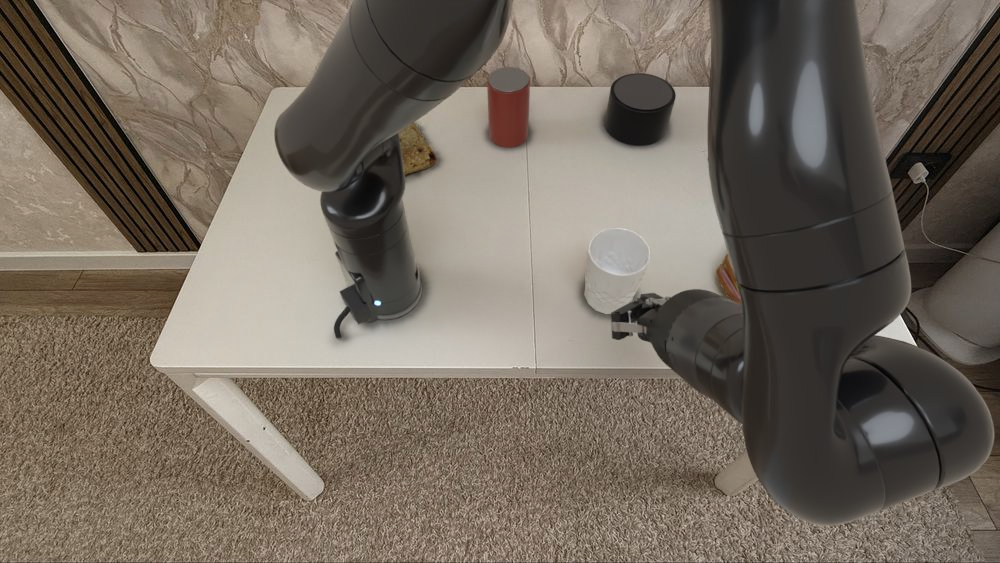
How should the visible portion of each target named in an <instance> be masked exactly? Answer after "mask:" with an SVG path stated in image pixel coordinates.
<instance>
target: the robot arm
mask: <svg viewBox="0 0 1000 563" xmlns="http://www.w3.org/2000/svg"><path fill="white" fill-rule="evenodd" d="M707 2H708V13H709V27H710V66H709V67H710V70H709V85H708V86H709V87H708V107H707V108H708V109H707V110H708V111H707V162H708V164H707V165H708V175H709V182H710V188H711V194H712V199H713V203H714V208H715V209H714V210H715V212H716V216H717V219H718V223H719V224H718V225H719V227H720V231H721V234H722V237H723V240H724V243H725V247H726V251H727V253H728V254H729V258H730V261H731V265H732V268H733V272H734V275H735V279H736V283H737V286H738V290H739V293H740V297H741V301H742V304H740V303H739V302H736V301H733V300H732V299H731V298H728V297H726V296H723V295H721V294H718V293H716V292H713V291H710V290H707V289H701V288H700V289H699V288H695V289H686V290H682V291H680V292H678V293H676V294H674V295H672V296H665V297H663V296H661V295H659V294H657V293H656V292H647V293H640V295H639V297H637V298H636V300H633V301H632V302H630V303H628V304H626V305H625V306H623V307H621V308H619V309H617V310H615V311H613V312H611V314H610V323H611V324H610V326H611V327H610V328H611V339H613V340H617V341H620V340H621V341H622V340H623V339H626V338H627V337H633V336H634V334H637V337H638V338H639V339H640V340H641V341H643V342H646V343H647V342H648V343H650V345H651V346H652V348H653V350H654V352H655V353H656V355H657V357H658V358H659V359H660V361H661V362H663V363H664V364H665V365H666V366H667V367H668V368H669V369H671V370H672V371H673V372H674V373H675V374H677V376H678V377H680V379H682V380H683V381H684V382H686V383H687V384H688V386H690V388H693V389H694V390H695V391H696V392H698V393H699V394H701V395H702V396H704V397H706V398H708V399H710V400H712V401H713V402H714V403H715V404H716V405H717V406H719V408H721V409H722V410H724V411H725V412H726V413H727V414H729V415H730V416H731V417H732V418H733V419H734V420H736V421H737V422H738V423H740V424H741V425H742V434H743V440H744V447H745V449H746V450H745V451H746V453H747V457H748V459H749V462H750V465H751V467H752V468H751V469H752V470H753V472H754V474H755V476H756V478H757V479H758V482H759V483H760V484H761V486H762V487H763V489H764V490H765V492H766V493H767V494H768V495H769V497H770V498H771V499H772V500H773V501H774V502H775V503H776V504H778V505H779V507H781V508H782V509H784V510H785V511H786V512H787V513H789V514H791V515H792V516H794V517H795V518H797V519H799V520H801V521H804V522H806V523H809V524H813V525H817V526H825V527H832V526H839V525H845V524H848V523H852V522H855V521H857V520H860V519H863V518H866V517H869V516H871V515H874V514H877V513H878V512H880V511H883V510H886V509H888V508H891V507H893V506H897V505H899V504H902V503H904V502H907V501H910V500H914V499H915V498H918V497H922V496H924V495H926V494H929V493H930V492H931V493H932V492H934V491H937V490H941V489H943V488H945V487H948V486H951V485H953V484H956V483H958V482H960V481H962V480H965V479H966V478H968V477H969V476H971V475H972V474H974V473H976V472H977V471H978V470H980V468H981V467H982V466H983V465H984V464H985V463H986V462H987V461H988V459H989V457H990V455H991V452H992V450H993V446H994V443H995V442H994V441H995V427H994V421H993V418H992V415H991V411H990V410H989V407H988V405H987V403H986V402H985V399H984V398H983V397H982V395H981V394H980V392H979V391H978V389H976V386H974V384H973V383H972V382H971V381H970V380H969V379H968V378H967V377H966V376H965V375H964V374H963V373H962V372H960V371H959V370H958V369H957V368H955V367H954V366H953V365H952V364H950V363H949V362H947V361H946V360H944V359H943V358H941V357H940V356H938V355H937V354H934V353H933V352H932V351H931V352H930V351H929V350H927V349H925V348H922V347H920V346H917V345H915V344H912V343H909V342H906V341H904V340H900V339H895V338H892V337H887V336H882V335H877V334H878V333H880V332H881V331H883V330H884V329H886V327H888V326H889V325H890V324H892V323H893V322H895V320H896V319H897V318H898V317H899V316H900V315H902V314H903V312H904V311H905V310H906V308H907V307H908V305H909V302H910V299H911V296H912V277H911V271H910V264H909V260H908V255H907V251H906V247H905V241H904V236H903V231H902V226H901V222H900V218H899V213H898V208H897V204H896V198H895V194H894V190H893V185H892V181H891V176H890V172H889V169H888V163H887V160H886V155H885V151H884V147H883V142H882V137H881V133H880V129H879V124H878V119H877V115H876V109H875V104H874V100H873V96H872V89H871V86H870V85H871V84H870V79H869V74H868V70H867V63H866V62H867V61H866V58H865V51H864V45H863V44H864V43H863V37H862V31H861V25H860V24H861V23H860V18H859V12H858V4H857V0H707ZM513 3H514V0H352V1H351V3H350V5H349V7H348V10H347V12H346V14H345V16H344V18H343V19H342V22H341V23H340V25H339V26H338V29H337V30H336V31H335V34H334V36H333V38H332V40H331V41H330V43H329V45H328V47H327V48H326V51H325V53H324V54H323V56H322V58H321V60H320V62H319V64H318V66H317V69H316V70H315V72H314V74H313V76H312V78H311V79H310V81H309V83H308V84H307V85H306V87H304V89H303V90H302V91H301V93H299V94H298V96H297V97H296V98H295V99H294V100H293V102H291V103H290V104H289V106H288V107H287V108H285V109H284V110H283V112H281V113H280V114H279V115H278V117H277V119H276V121H275V125H274V131H273V132H274V144H275V147H276V151H277V154H278V157H279V159H280V160H281V162H282V164H283V166H284V167H285V168H286V170H287V171H288V173H289V174H290V175H291V176H292V177H293V178H294V179H295V180H296V181H297V182H299V183H301V184H302V185H303V186H305V187H307V188H309V189H311V190H314V191H317V192H320V193H321V194H320V200H319V202H320V203H319V204H320V210H321V213H322V215H323V219H324V220H325V223H326V226H327V228H328V230H329V233H330V236H331V238H332V240H333V244H334V246H335V249H336V251H335V253H334V255H335V257H336V260H337V262H338V265H339V268H340V270H341V272H342V275H343V277H344V279H345V282H346V284H347V287H345V288H343V289H342V290H340V291H339V294H340V297H341V300H342V301H343V303H344V305H345V307H344V309H343V310H342V311H341V313H340V314H338V316H337V318H336V320H335V321H334V325H333V332H334V336H335V338H336V339H340V338H342V333H341V325H342V322H343V321H344V319H345V318H346V317H347V316H348V315H349V313H350V314H351V316H352V317H353V320H355V322H356V323H357V325H360V324H362V323H364V322H366V321H369V322H370V323H373V322H375V321H377V320H381V321H382V320H383V321H384V320H386V321H387V320H393V319H398V318H400V317H403V316H405V315H407V314H409V313H410V312H411V311H412V310H413V309H414V308H415V307H416V306H417V305H418V304H419V302H420V300H421V298H422V296H423V295H422V294H423V284H422V279H421V275H420V265H419V264H418V263H419V262H418V260H417V259H416V254H415V250H414V244H413V241H412V237H411V232H410V228H409V223H408V218H407V214H406V209H405V205H404V204H405V203H404V200H403V197H404V194H405V191H406V175H405V174H404V167H403V159H402V152H401V144H400V138H399V132H400V131H402V130H403V129H405V128H406V127H408V126H409V125H411V124H412V123H414V124H415V122H417V121H418V120H420V119H421V118H423V117H424V116H426V115H427V114H428V113H430V112H431V111H433V109H435V108H436V107H438V106H439V105H440V104H442V103H443V102H444V101H445V100H447V99H448V98H449V97H451V96H452V95H453V94H454V93H456V92H457V91H458V90H459V89H460V88H462V87H463V85H465V84H466V83H467V82H468V81H469V80H470V79H471V78H472V77H474V76H475V75H476V74H477V73H478V72H479V71H480V70H481V69H482V68H483V67H484V66H485V65H486V64H487V63H488V62H489V61H490V60H491V58H492V57H493V56H494V55H495V53H496V51H497V50H498V49H499V48H500V45H501V44H502V42H503V40H504V38H505V35H506V33H507V30H508V27H509V24H510V20H511V16H512V10H513Z"/></svg>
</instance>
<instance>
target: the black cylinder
mask: <svg viewBox="0 0 1000 563" xmlns="http://www.w3.org/2000/svg"><path fill="white" fill-rule="evenodd" d="M676 96H677V94H676V91H675V88H674V87H673V86H672V85H671V84H670V83H669V82H668V81H667V80H665V79H664V78H662V77H660V76H657V75H654V74H651V73H643V72H642V73H639V72H638V73H637V72H636V73H628V74H625V75H622V76H620V77H618V78H616V80H614V81H613V83H612V84H611V86H610V88H609V94H608V100H607V106H606V111H605V112H606V113H605V116H604V117H605V118H604V128H605V130H606V132H607V133H608V135H609V136H610V137H611V138H613V139H614V140H616V141H617V142H620V143H621V144H625V145H628V146H635V147H644V146H650V145H654V144H656V143H657V142H660V140H662V139H663V138H664V136H665V135H666V132H667V129H668V126H669V122H670V119H671V115H672V112H673V108H674V105H675V102H676V98H677V97H676Z"/></svg>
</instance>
